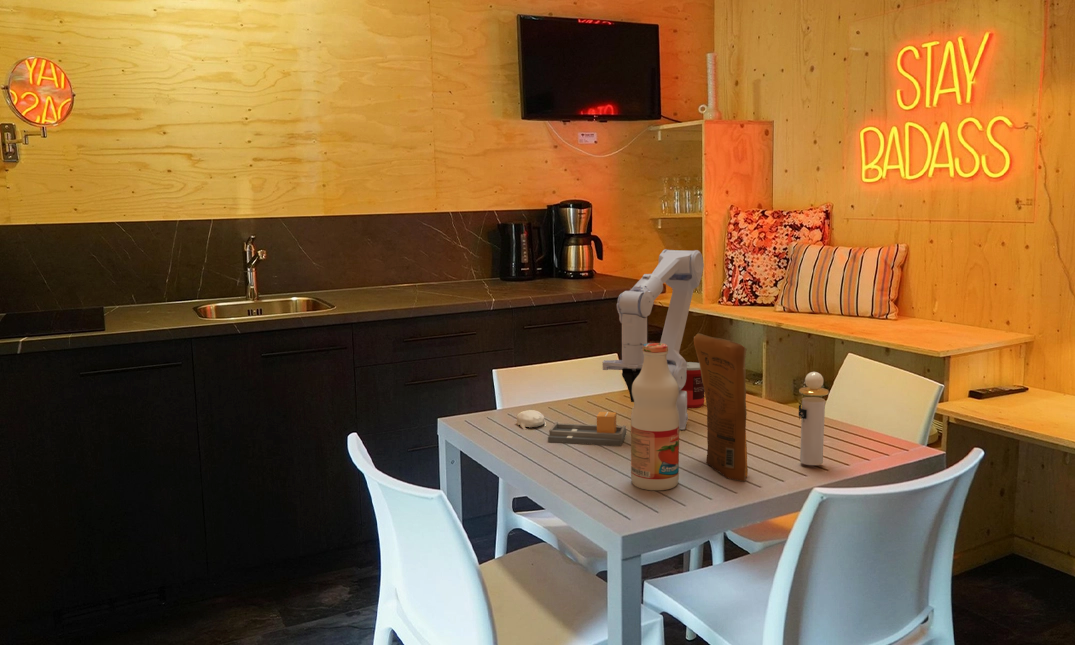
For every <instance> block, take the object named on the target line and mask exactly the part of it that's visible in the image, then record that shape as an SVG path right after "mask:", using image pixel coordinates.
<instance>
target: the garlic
mask: <svg viewBox="0 0 1075 645" xmlns="http://www.w3.org/2000/svg"><path fill="white" fill-rule="evenodd" d="M516 425H517V426H519V425H520V427H521V428H522V429H523V430H525V429H527V428H526V427H529V428H530V429H531V428H532V427H534V428H538V427H541V426H543V425H544V427H545V426H546V425H547V422H546V420H545V415H544V414H543V413H541V412H540V411H538V410H535V409H529V410H523V411H521V412H519V413H518V414H517V415H516ZM529 428H528V429H529Z"/></svg>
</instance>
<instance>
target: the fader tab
mask: <svg viewBox="0 0 1075 645" xmlns="http://www.w3.org/2000/svg"><path fill="white" fill-rule="evenodd" d="M596 425H597V432H599V433H616V426H617V412H612V411H611V412H610V411H599V412H598V414H597V415H596Z"/></svg>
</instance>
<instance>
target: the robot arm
mask: <svg viewBox="0 0 1075 645" xmlns="http://www.w3.org/2000/svg"><path fill="white" fill-rule="evenodd" d="M704 266H705V264H704V257H703V254H702V253H701V251H700V250H698V249H694V250H684V249H683V250H677V249H675V250H674V249H667V248H665V249H663V250H662V251H661V253H660V254H659V255H658V264H657V266H656V267H655V268H654V270H653V271H652V273H644V274H643V275H642V277H641V278H640V279H639V280H638V281H637V282H636V283H635V284H634V285H633V287H632V288H630V289H629V290H624V291H623V292H621V293H620V294H619V295H618V298H617V303H616V311H617V313H618V316H619V318H618V319H619V323H620V324H621V359H612V360H611V359H609V360H608V359H607V360H603V361H602V371H608V370H609V371H611V370H613V371H621V372H622V373H621V376H622V378H623V380H624V382H625V385H626V387H627V390H628V393H629V398H630V403H634V399H633V396H632V384H633V382H634V380H635V379H636V377H637V376H638V375H639V374H640V372H641V369H642V366H643V363H644V354H643V350H642V349H643V345H644V344H648V316H650V315H651V313H652V309H653V306H654V304H655V300H656V299H657V298H658V297H659V296H660V294H661V293H662V292H663V291H664V285H663V284H665V285H666V286H668V287H670V288H671V290H672V291H671V292H672V293H671V295H670V297H671V298H670V301H669V305H668V310H667V313H666V316H665V321H664V326H663V330H662V335H661V338H660V342H659V343H662V344H666V345H668V354H667V355H666V359H667V364H668V368H669V370H670V373H671V375H672V376H673V377H674V379H675V380H676V382H677V384H678V388H679V394H678V398H677V401H676V407H677V409H678V412H679V431H680V430H683V431H684V430H686V426H687V423H688V420H689V414H688V408H687V391H681V389H682V388H683V387H684V385H685V382H686V376H687V375H686V370H687V363H686V362H687V361H686V359H685V358H684V357H683V355H681V354H680V350H681V346H682V345H681V344H682V342H683V337H684V334H685V328H686V324H687V320H688V315H689V311H690V307H691V303H692V298H693V294H694V291H695V289H697V288H698V287H699V286H700V283H701V280H702V276H703V271H704Z"/></svg>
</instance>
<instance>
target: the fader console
mask: <svg viewBox="0 0 1075 645" xmlns="http://www.w3.org/2000/svg"><path fill="white" fill-rule="evenodd" d="M626 427H627V426H626V425H622V426H621V425H616V433H599V432H597V424H581V423H563V422H558V421H557V422H556V421H555V422H554V424H553V425H552V426H551V428H549V431H548V432H549V433H548V434H549V435H548V437H547V442H548V443H555V444H556V443H558V444H559V443H560V444H573V443H577V444H578V445H591V444H595V445H597V446H614V447H615V446H616V447H622V445H621V444H623V442H624V440H625V437H626V436H627V434H628V433H627V432H628V430H627V428H626ZM626 433H627V434H626ZM595 445H594V446H595Z"/></svg>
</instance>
